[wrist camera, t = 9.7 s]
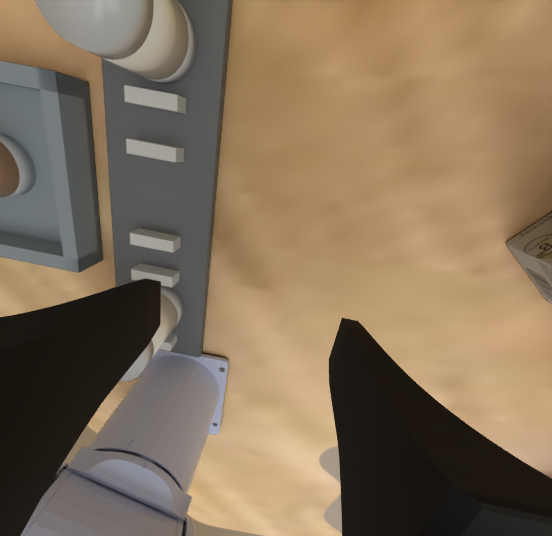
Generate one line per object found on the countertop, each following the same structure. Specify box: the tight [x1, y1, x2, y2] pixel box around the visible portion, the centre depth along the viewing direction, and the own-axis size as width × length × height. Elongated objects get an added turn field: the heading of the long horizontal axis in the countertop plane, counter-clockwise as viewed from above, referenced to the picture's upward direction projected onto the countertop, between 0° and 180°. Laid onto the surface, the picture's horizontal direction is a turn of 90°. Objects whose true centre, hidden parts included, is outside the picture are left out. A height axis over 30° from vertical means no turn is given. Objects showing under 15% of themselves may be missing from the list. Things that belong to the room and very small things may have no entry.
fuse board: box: [102, 0, 232, 358], centre depth 19 cm, size 26×7×2 cm, turn 170°
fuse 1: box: [35, 0, 197, 85], centre depth 13 cm, size 4×4×6 cm
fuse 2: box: [119, 285, 184, 382], centre depth 19 cm, size 4×4×6 cm
